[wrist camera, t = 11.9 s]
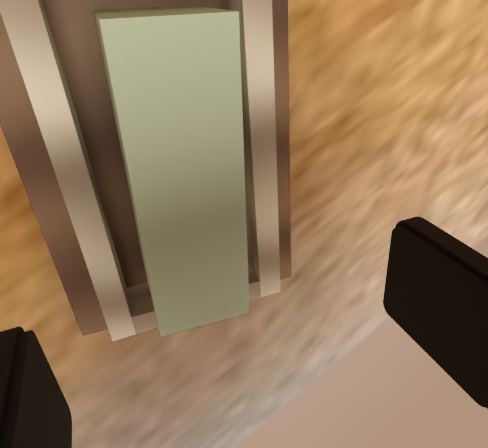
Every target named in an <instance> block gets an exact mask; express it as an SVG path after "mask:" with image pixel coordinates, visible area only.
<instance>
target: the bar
mask: <svg viewBox="0 0 488 448" xmlns="http://www.w3.org/2000/svg"><path fill="white" fill-rule="evenodd" d="M93 12H94V17H95V22H96V27H97V32H98V37H99V42H100V47H101V52H102V57H103V62H104V67H105V72H106V77H107V82H108V87H109V92H110V97H111V102H112V107H113V112H114V117H115V123H116V128H117V133H118V138H119V143H120V148H121V153H122V158H123V163H124V168H125V173H126V178H127V183H128V188H129V193H130V198H131V203H132V208H133V213H134V218H135V223H136V228H137V233H138V238H139V243H140V248H141V253H142V259H143V263H144V267H145V272H146V276H147V280H148V285H149V289H150V293H151V297H152V302H153V306H154V310H155V315H156V319H157V323H158V328H159V332H160V336H161V337H163V336H167V335H171V334H174V333H178V332H182V331H185V330H189V329H193V328H196V327H200V326H204V325H207V324H211V323H215V322H218V321H222V320H226V319H229V318H233V317H237V316H240V315H244V314H248V313H250V308H249V280H248V252H247V224H246V196H245V167H244V139H243V111H242V83H241V55H240V27H239V11H232V10H225V9H217V8H209V7H201V6H193V5H192V6H173V7H153V8H134V9H115V10H96V11H93Z"/></svg>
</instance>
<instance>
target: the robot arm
mask: <svg viewBox="0 0 488 448" xmlns="http://www.w3.org/2000/svg"><path fill="white" fill-rule="evenodd" d="M383 304H384V308H385V310H386V312H387V313H388V315H389V316H390V317H391V318H392V319H393V320H394V321H395V322H396V323H397V324H398V325H399V326H400V327H402V329H403V330H404V331H405V332H407V334H408V335H409V336H410V337H411V338H412V339H413V340H415V342H416V343H417V344H418V345H419V346H420V347H422V349H423V350H425V352H427V354H428V355H429V356H430V357H431V358H432V359H434V361H436V363H438V365H440V367H441V368H443V370H444V371H445V372H446V373H447V374H448V375H450V377H452V379H453V380H455V382H456V383H458V385H459V386H461V387H462V389H463V390H464V391H465V392H466V393H468V395H470V397H471V398H473V399H474V400H475V402H477V403H478V404H479V405H481V406H482V407H487V408H488V258H487V257H485V256H483V255H482V254H480V253H478V252H477V251H475V250H474V249H472V248H470V247H469V246H467V245H466V244H464V243H462V242H461V241H459V240H458V239H456V238H454V237H453V236H451V235H449V234H448V233H446V232H445V231H443V230H441V229H440V228H438V227H436V226H435V225H433V224H432V223H430V222H428V221H427V220H425V219H424V218H421V217H413V218H410V219H406V220H403V221H400V222H398V223H397V225H396V227H395V228H394V229H393V231H392V236H391V244H390V252H389V260H388V268H387V276H386V284H385V292H384V300H383ZM71 447H72V419H71V413H70V409H69V406H68V404H67V402H66V400H65V398H64V395H63V393H62V391H61V389H60V387H59V385H58V383H57V380H56V378H55V376H54V374H53V372H52V370H51V367H50V365H49V363H48V361H47V359H46V357H45V354H44V352H43V350H42V348H41V346H40V344H39V341H38V339H37V337H36V335H35V333H34V332H33V331H32V330H30V331H27V332H25V331H24V330H23V328H22V327H16V328H13V329H9V330H5V331H2V332H0V448H71Z"/></svg>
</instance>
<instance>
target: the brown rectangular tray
mask: <svg viewBox="0 0 488 448" xmlns="http://www.w3.org/2000/svg"><path fill="white" fill-rule="evenodd" d="M192 5H193V6H201V7H209V8H217V9H225V10H232V11H239V27H240V55H241V83H242V111H243V139H244V167H245V196H246V224H247V252H248V280H249V301H251V300H255V299H258V298H262V297H265V296H268V295H272V294H275V293H279V292H281V291H280V279H283V278H287V277H290V276H291V250H290V162H289V75H288V0H0V125H1V128H2V131H3V133H4V136H5V138H6V141H7V143H8V146H9V148H10V151H11V154H12V156H13V159H14V161H15V164H16V166H17V169H18V171H19V174H20V177H21V179H22V182H23V184H24V187H25V189H26V192H27V194H28V197H29V200H30V202H31V205H32V207H33V210H34V212H35V215H36V217H37V220H38V223H39V225H40V228H41V230H42V233H43V235H44V238H45V240H46V243H47V246H48V248H49V251H50V253H51V256H52V258H53V261H54V263H55V266H56V269H57V271H58V274H59V276H60V279H61V281H62V284H63V286H64V289H65V292H66V294H67V297H68V299H69V302H70V304H71V307H72V309H73V312H74V315H75V317H76V320H77V322H78V325H79V327H80V330H81V332H82V335H83V336H84V335H87V334H91V333H94V332H98V331H101V330H105V329H108V330H109V333H110V336H111V339H112V341H116V340H119V339H123V338H126V337H129V336H133V335H136V334H140V333H143V332H146V331H150V330H153V329H156V328H158V323H157V319H156V315H155V310H154V306H153V302H152V297H151V293H150V289H149V285H148V280H147V276H146V272H145V267H144V263H143V259H142V253H141V248H140V243H139V238H138V233H137V228H136V223H135V218H134V213H133V208H132V203H131V198H130V193H129V188H128V183H127V178H126V173H125V168H124V163H123V158H122V153H121V148H120V143H119V138H118V133H117V128H116V123H115V117H114V112H113V107H112V102H111V97H110V92H109V87H108V82H107V77H106V72H105V67H104V62H103V57H102V52H101V47H100V42H99V37H98V32H97V27H96V22H95V17H94V12H93V11H96V10H115V9H134V8H153V7H173V6H192Z"/></svg>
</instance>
